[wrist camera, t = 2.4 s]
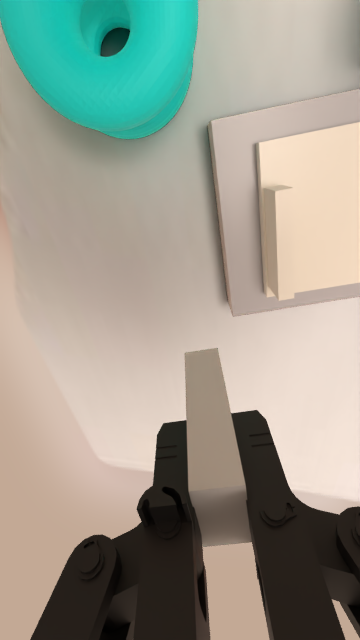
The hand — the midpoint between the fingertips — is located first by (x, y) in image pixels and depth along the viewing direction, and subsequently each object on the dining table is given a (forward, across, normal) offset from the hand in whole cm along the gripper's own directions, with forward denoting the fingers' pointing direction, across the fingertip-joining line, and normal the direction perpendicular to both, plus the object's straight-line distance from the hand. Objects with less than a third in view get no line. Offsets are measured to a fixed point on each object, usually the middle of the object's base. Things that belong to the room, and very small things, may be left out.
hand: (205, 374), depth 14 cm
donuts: (+18, -2, +16) cm, 24 cm away
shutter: (+14, +10, +3) cm, 18 cm away
